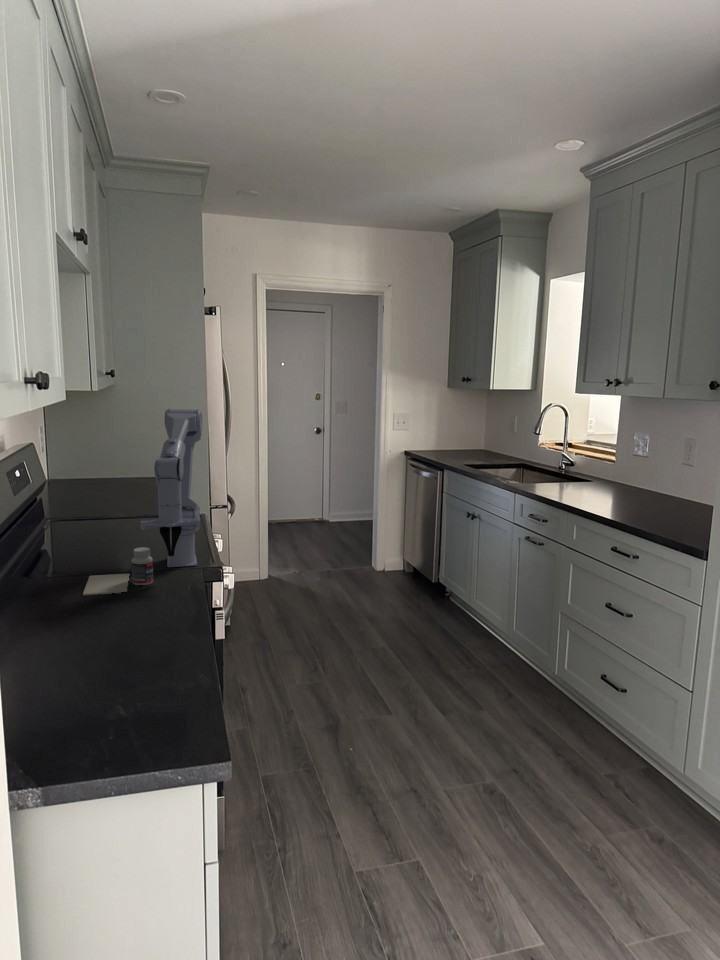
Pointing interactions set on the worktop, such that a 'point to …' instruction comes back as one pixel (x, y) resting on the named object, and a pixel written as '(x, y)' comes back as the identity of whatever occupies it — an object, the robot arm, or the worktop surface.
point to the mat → (106, 584)
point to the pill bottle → (142, 567)
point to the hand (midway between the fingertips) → (171, 555)
